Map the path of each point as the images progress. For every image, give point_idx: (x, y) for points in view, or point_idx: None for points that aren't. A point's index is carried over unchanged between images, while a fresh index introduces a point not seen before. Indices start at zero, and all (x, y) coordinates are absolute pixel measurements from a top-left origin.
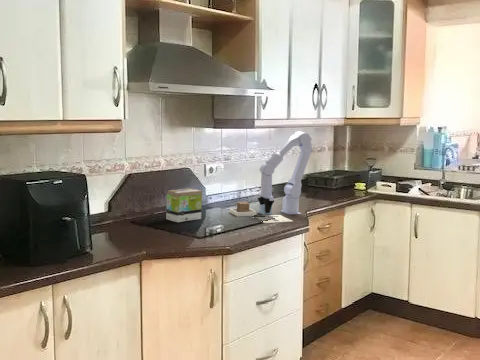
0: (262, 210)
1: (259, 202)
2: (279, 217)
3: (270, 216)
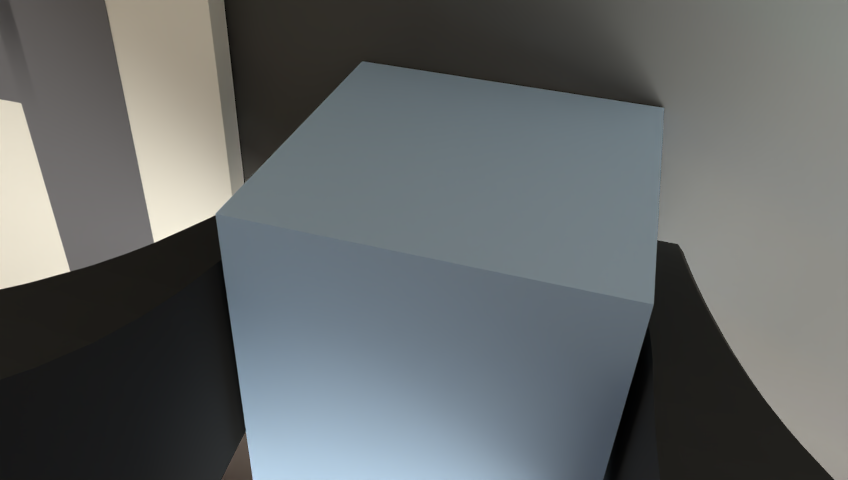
0: (354, 136)
1: (788, 440)
2: (3, 241)
3: (95, 124)
